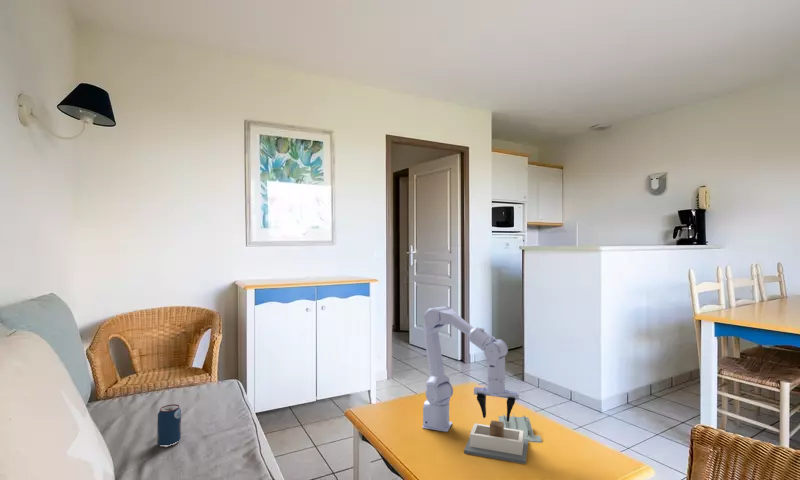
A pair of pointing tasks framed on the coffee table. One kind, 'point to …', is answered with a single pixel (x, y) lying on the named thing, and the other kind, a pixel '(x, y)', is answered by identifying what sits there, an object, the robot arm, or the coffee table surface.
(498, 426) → the walnut block
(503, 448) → the well
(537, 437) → the metal bracket
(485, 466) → the coffee table surface
